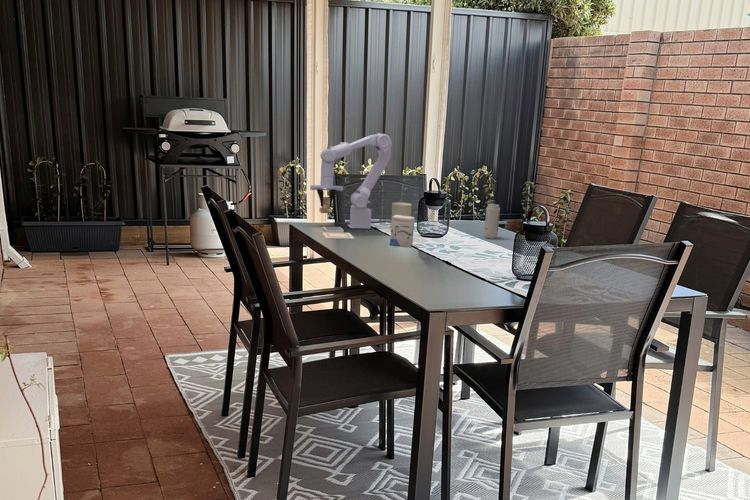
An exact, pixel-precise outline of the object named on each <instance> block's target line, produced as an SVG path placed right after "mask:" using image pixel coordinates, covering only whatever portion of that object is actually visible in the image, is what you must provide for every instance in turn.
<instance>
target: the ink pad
mask: <svg viewBox="0 0 750 500" xmlns="http://www.w3.org/2000/svg"><path fill="white" fill-rule="evenodd" d="M322 230H323V232H332V233H345V232H344V229H343V228H342V227H341V226H322Z"/></svg>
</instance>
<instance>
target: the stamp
mask: <svg viewBox="0 0 750 500" xmlns="http://www.w3.org/2000/svg"><path fill="white" fill-rule="evenodd" d="M319 212H320V214H333V208H331V207H330V198H329V196H323V207H319Z"/></svg>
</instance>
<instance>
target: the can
mask: <svg viewBox="0 0 750 500" xmlns="http://www.w3.org/2000/svg"><path fill="white" fill-rule="evenodd" d="M412 206H413V205H412V203H409V202H403V201H402V202H401V201H398V202H397V201H395V202H392V203H391V218H390V225H391V224H392V217H393V216H394V215H402V216H410V217H412ZM390 229H391V226H390Z"/></svg>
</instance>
